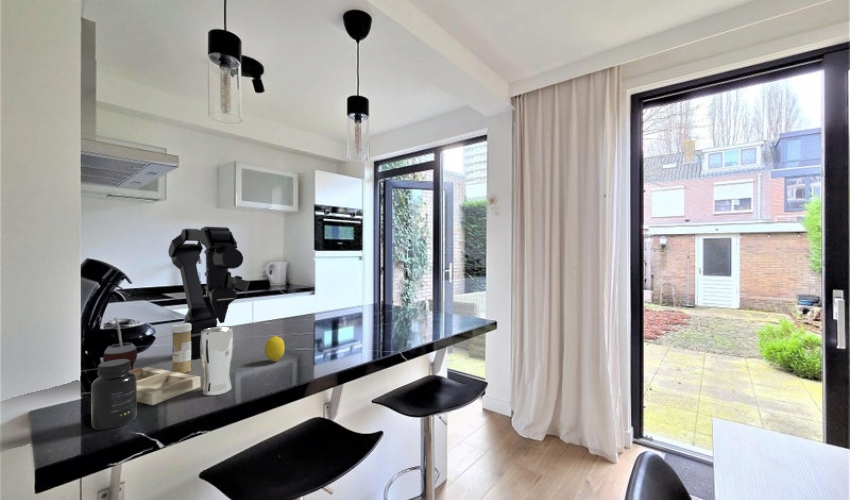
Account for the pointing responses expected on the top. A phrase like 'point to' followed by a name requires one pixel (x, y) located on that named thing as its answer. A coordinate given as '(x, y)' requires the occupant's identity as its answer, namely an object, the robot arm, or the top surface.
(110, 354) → the mate gourd
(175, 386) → the beige wooden flat tray
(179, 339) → the sprinkles bottle
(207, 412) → the top surface
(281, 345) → the lemon
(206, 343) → the beer glass
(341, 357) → the top surface
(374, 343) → the top surface
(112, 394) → the supplement bottle
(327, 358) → the top surface
